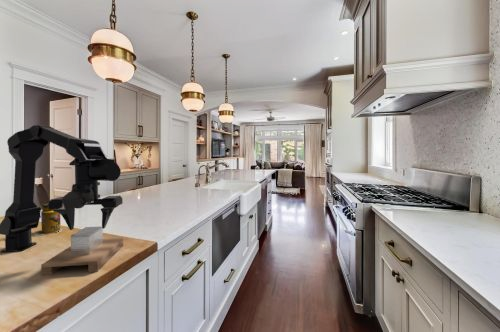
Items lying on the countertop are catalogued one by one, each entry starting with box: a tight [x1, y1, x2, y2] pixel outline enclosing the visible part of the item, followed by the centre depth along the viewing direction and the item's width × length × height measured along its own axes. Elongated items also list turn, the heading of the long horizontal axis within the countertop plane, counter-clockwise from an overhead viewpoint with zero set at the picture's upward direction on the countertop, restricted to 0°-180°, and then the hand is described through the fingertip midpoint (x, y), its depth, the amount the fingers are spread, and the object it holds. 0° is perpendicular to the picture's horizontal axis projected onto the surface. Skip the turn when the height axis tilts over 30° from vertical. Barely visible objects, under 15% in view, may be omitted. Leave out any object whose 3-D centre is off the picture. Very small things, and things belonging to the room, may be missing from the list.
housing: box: [70, 226, 104, 255], centre depth 70 cm, size 8×5×6 cm, turn 10°
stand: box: [40, 237, 124, 276], centre depth 70 cm, size 18×14×3 cm
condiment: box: [34, 203, 63, 237], centre depth 94 cm, size 7×8×12 cm
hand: (87, 228), depth 70 cm, fingers open, 9 cm apart
